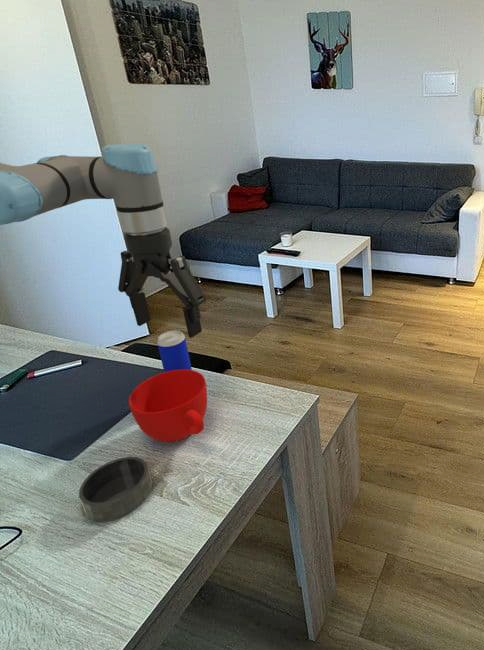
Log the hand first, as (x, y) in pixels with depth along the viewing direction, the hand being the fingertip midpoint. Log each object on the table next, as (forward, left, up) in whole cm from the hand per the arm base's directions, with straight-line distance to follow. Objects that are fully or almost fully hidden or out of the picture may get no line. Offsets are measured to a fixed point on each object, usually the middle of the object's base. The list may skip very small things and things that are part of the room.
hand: (169, 328), depth 89 cm
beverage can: (0, 0, -17) cm, 17 cm away
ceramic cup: (+9, -10, -17) cm, 22 cm away
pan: (+10, -24, -17) cm, 31 cm away
